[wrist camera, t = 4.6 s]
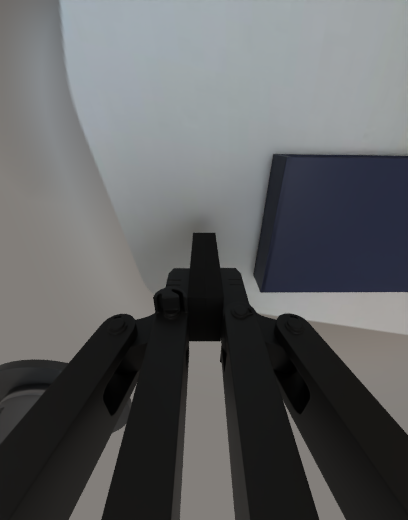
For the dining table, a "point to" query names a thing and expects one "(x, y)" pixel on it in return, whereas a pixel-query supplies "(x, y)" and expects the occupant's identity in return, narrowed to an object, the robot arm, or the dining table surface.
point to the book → (335, 225)
